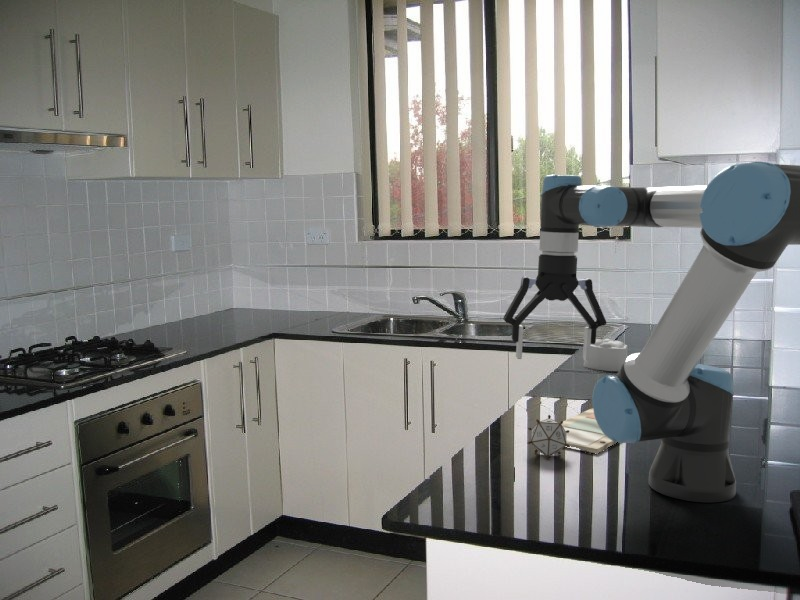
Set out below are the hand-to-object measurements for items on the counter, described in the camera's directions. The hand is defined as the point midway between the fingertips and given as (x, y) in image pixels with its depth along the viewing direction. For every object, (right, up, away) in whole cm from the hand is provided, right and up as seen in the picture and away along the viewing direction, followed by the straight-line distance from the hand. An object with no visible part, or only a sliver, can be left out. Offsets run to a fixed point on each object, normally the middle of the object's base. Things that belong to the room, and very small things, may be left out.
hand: (552, 359), depth 169 cm
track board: (+14, -18, +22) cm, 31 cm away
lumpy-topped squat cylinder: (+34, -10, +97) cm, 103 cm away
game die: (-1, -20, +2) cm, 20 cm away
